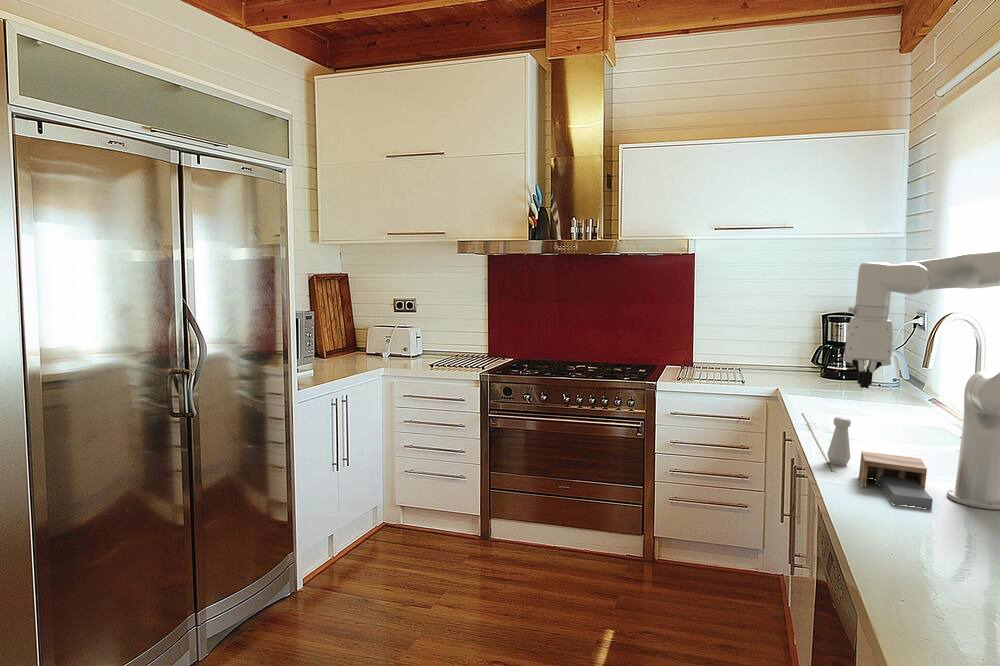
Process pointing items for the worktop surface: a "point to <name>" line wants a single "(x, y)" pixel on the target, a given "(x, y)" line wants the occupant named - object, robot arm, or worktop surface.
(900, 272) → the robot arm
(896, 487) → the board
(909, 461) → the open wooden box
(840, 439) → the salt shaker
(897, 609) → the worktop surface
